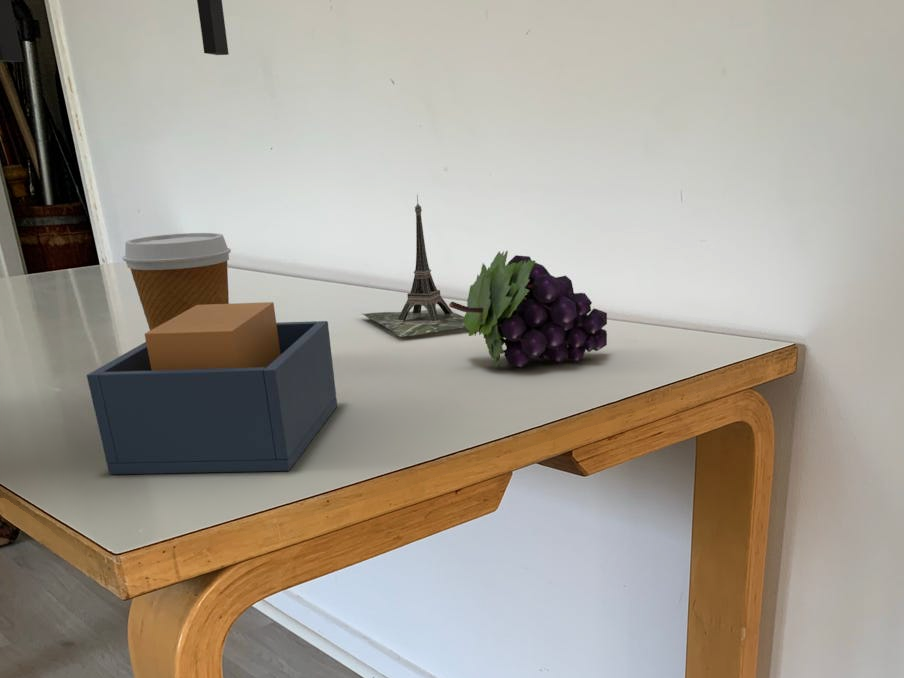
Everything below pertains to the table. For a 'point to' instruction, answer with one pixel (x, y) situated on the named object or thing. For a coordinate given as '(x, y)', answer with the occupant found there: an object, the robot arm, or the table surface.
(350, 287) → the table surface
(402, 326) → the eiffel tower figurine
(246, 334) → the tan cardboard-coloured block
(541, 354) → the fruit
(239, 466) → the compartment
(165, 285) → the disposable coffee cup
